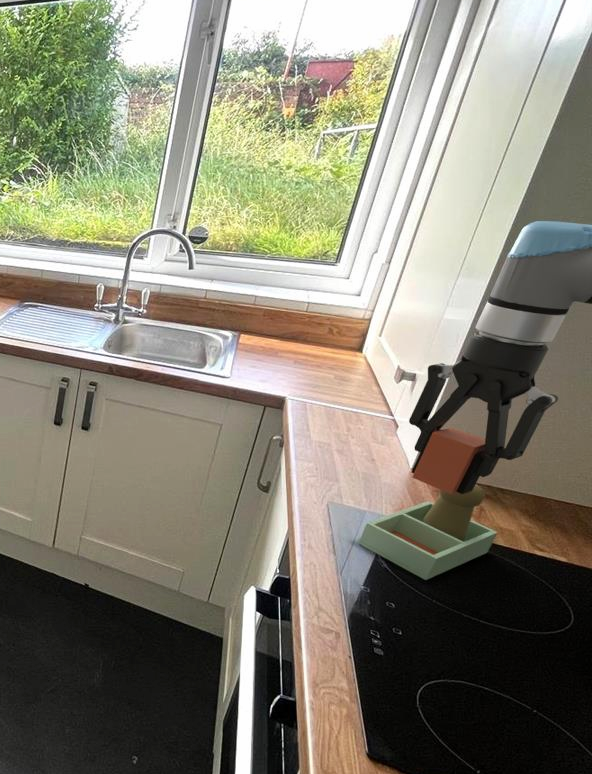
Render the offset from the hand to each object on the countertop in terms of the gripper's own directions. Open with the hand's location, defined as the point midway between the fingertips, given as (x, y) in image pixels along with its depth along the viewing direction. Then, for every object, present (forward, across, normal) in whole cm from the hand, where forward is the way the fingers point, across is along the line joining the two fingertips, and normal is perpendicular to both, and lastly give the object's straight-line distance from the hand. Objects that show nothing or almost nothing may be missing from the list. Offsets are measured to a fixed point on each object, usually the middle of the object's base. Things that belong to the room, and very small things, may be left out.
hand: (440, 481), depth 89 cm
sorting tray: (+14, 0, -4) cm, 14 cm away
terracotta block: (0, 0, 0) cm, 0 cm away
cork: (+13, 0, -9) cm, 16 cm away
